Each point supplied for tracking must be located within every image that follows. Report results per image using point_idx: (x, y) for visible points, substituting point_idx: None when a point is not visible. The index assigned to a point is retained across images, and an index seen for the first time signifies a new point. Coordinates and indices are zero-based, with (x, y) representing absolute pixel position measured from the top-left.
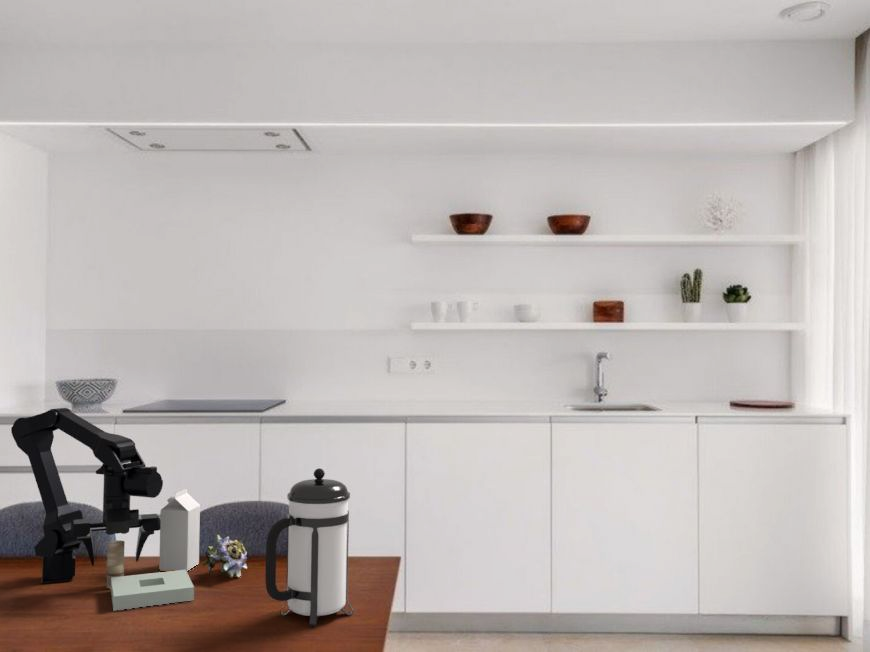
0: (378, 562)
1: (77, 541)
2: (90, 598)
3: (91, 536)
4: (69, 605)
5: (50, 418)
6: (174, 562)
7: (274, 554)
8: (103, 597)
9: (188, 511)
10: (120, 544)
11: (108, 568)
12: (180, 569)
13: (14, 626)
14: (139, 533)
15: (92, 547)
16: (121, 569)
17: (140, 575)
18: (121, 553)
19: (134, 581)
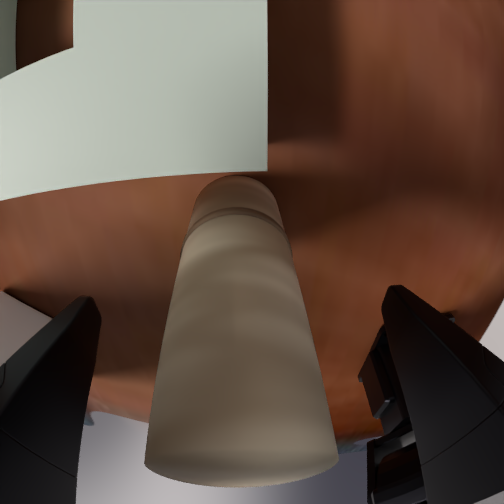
0: None
1: (402, 459)
2: (367, 66)
3: (452, 488)
4: (448, 24)
5: None
6: (22, 335)
7: None
8: (303, 49)
9: None
10: (176, 441)
11: (289, 256)
12: (14, 307)
13: None
14: (23, 493)
15: (482, 386)
16: (192, 243)
17: (71, 161)
18: (176, 343)
19: (100, 24)
